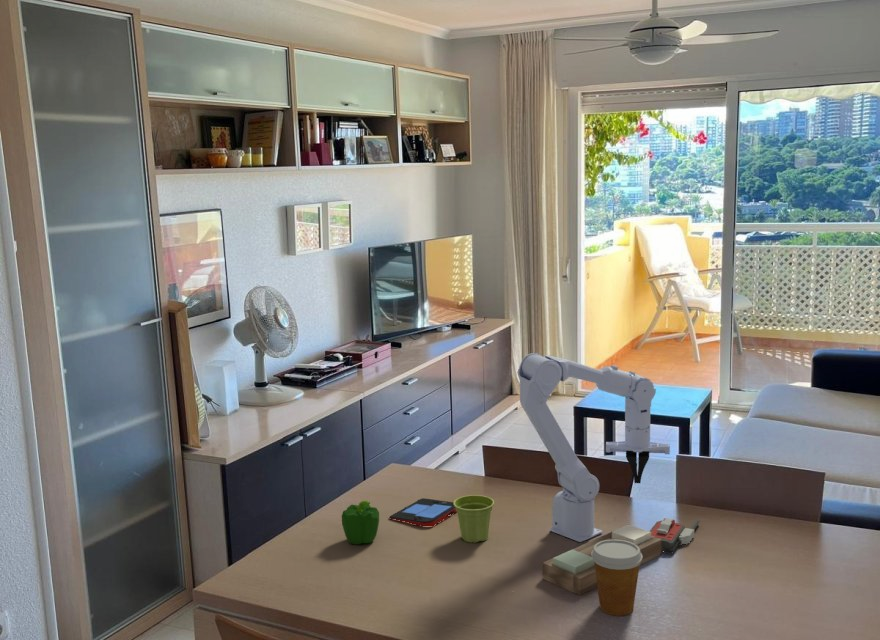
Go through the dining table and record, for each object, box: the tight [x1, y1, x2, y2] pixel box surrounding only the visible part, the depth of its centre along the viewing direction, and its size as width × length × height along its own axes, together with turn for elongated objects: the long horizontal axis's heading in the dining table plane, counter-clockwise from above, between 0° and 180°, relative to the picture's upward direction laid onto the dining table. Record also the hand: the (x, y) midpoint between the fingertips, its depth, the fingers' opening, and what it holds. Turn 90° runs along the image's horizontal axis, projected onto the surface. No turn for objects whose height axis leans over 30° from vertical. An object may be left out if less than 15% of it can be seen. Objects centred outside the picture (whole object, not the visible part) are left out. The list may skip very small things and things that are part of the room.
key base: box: [541, 526, 662, 596], centre depth 182 cm, size 10×27×4 cm, turn 131°
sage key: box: [552, 548, 595, 575], centre depth 176 cm, size 6×6×3 cm
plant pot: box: [453, 494, 495, 544], centre depth 198 cm, size 9×9×9 cm
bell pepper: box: [341, 500, 380, 545], centre depth 198 cm, size 8×8×10 cm
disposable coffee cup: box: [591, 540, 643, 617], centre depth 164 cm, size 10×10×12 cm
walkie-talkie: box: [649, 518, 701, 554], centre depth 196 cm, size 9×4×20 cm
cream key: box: [611, 524, 651, 545], centre depth 188 cm, size 6×6×3 cm
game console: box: [389, 497, 457, 527], centre depth 214 cm, size 14×13×2 cm
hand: (637, 481), depth 202 cm, fingers closed
